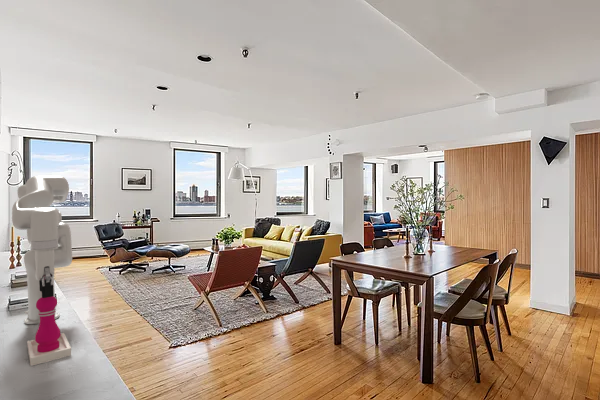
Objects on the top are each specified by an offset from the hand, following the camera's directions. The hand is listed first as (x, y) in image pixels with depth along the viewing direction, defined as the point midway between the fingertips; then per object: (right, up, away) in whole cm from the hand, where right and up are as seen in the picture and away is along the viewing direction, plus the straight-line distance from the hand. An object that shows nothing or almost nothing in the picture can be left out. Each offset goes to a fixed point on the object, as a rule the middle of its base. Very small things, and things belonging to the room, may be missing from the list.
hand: (46, 293), depth 123 cm
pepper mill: (+1, -19, 0) cm, 19 cm away
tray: (+1, -20, 0) cm, 20 cm away
